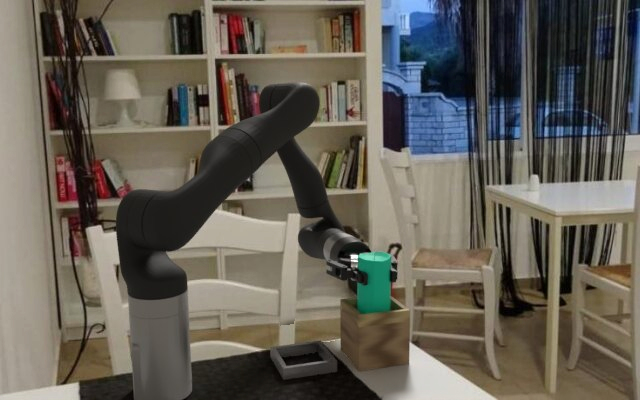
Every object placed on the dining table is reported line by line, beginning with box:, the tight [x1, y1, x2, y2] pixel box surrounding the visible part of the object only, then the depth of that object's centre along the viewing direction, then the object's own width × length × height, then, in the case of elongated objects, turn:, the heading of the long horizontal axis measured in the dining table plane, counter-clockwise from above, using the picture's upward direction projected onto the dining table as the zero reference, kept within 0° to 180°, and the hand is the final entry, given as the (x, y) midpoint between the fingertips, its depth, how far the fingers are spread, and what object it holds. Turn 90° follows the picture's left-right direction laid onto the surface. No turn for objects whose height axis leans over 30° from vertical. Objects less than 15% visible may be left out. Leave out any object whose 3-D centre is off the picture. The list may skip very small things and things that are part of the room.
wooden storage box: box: [339, 295, 411, 372], centre depth 115 cm, size 10×10×10 cm
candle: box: [356, 246, 392, 314], centre depth 113 cm, size 6×6×12 cm
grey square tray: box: [269, 340, 338, 381], centre depth 112 cm, size 10×10×2 cm
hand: (380, 278), depth 110 cm, fingers closed on candle, 4 cm apart
